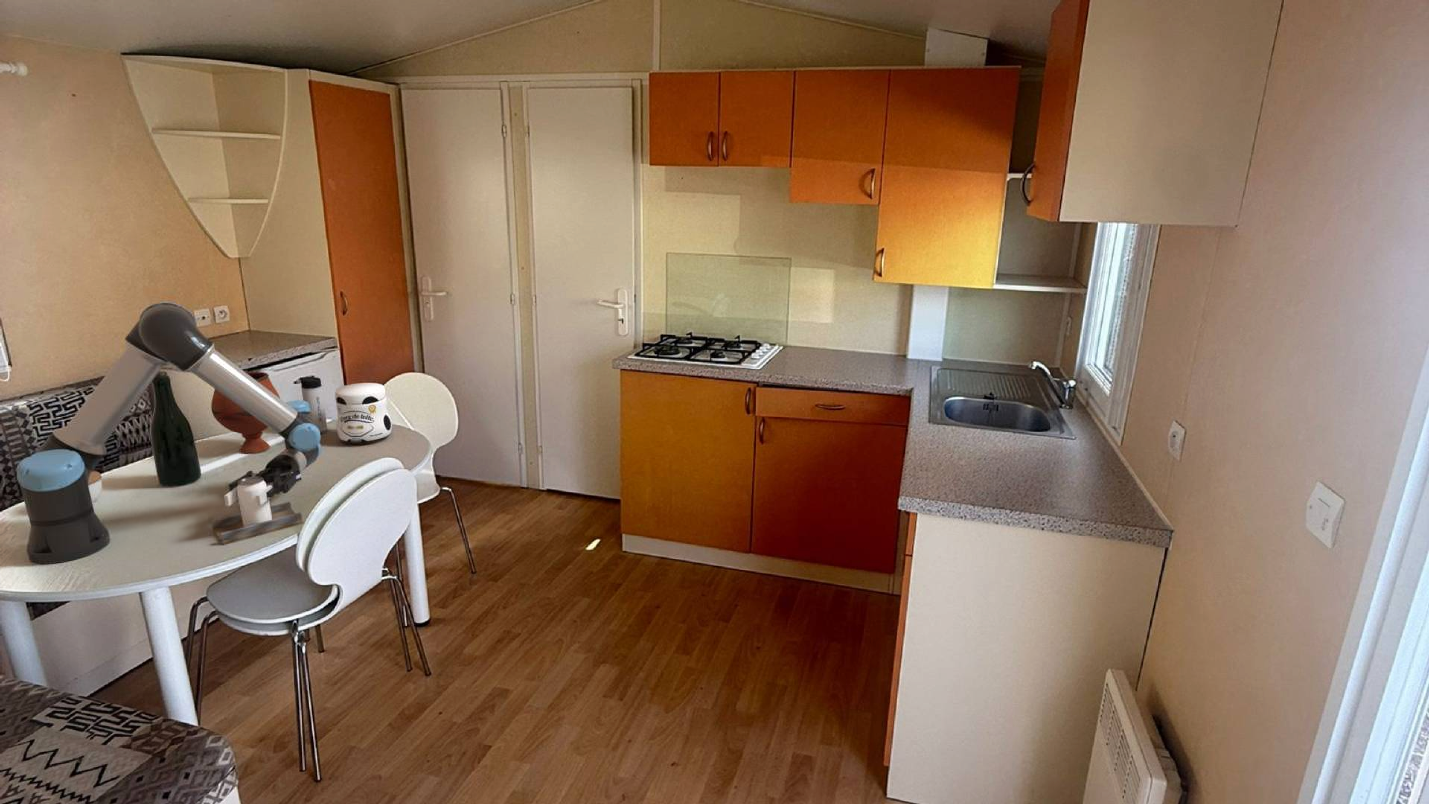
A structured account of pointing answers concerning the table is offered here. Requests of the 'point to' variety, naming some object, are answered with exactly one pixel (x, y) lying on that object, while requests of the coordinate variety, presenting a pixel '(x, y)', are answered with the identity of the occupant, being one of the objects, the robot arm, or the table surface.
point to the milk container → (362, 413)
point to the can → (252, 501)
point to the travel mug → (315, 401)
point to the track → (235, 531)
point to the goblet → (243, 417)
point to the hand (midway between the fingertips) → (242, 500)
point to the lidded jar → (95, 486)
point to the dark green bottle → (172, 438)
